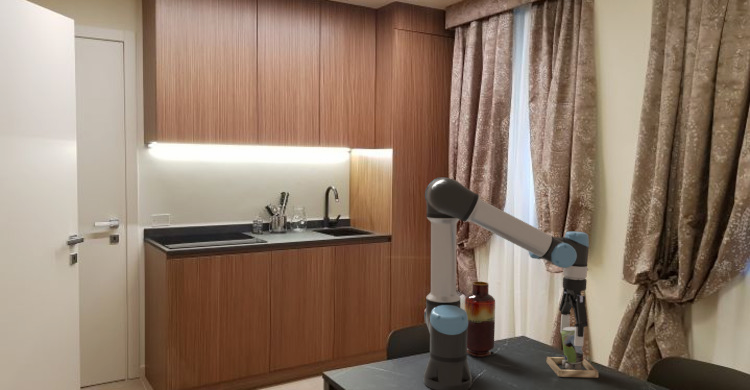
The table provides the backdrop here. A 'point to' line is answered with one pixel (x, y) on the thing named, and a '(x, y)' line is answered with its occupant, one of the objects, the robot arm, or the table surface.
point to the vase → (480, 320)
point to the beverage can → (571, 346)
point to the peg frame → (568, 368)
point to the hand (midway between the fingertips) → (571, 339)
